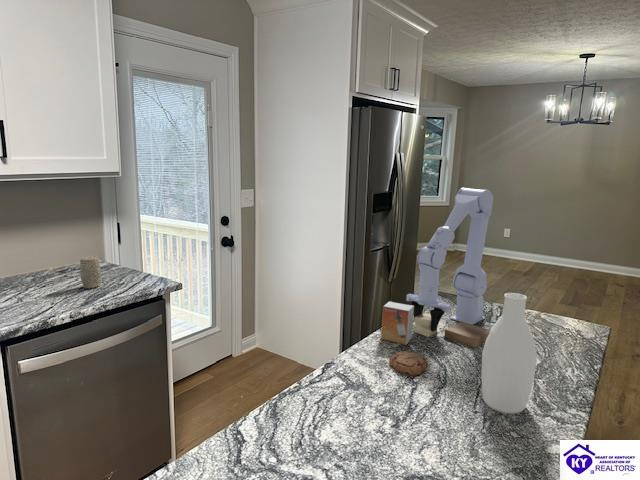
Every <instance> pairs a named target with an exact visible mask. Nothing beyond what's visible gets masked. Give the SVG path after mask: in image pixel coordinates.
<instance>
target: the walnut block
mask: <svg viewBox="0 0 640 480" xmlns="http://www.w3.org/2000/svg"><path fill="white" fill-rule="evenodd" d="M490 331H491V329H487V328H485V327H481V326H478V325H475V324H473V325H472V324H468V323H465V322H460V321H458V322H457V323H455V324H453V325H452V326H449V327H447V328H445V329H444V338H445V339H447V340H451V341H452V342H453V341H454V342H457V343H460V344H462V345H466V346H469V347H472V348H474V349H475V348H477V347H479V346H481V345H482V344H485V341H486V339H487V337H488V335H489V333H490Z"/></svg>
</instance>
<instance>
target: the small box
mask: <svg viewBox="0 0 640 480" xmlns="http://www.w3.org/2000/svg"><path fill="white" fill-rule="evenodd" d="M413 314H414V306H413V305H410V304H406V303H405V304H404V303H399V302H393V301H388V302H387V303H386V304H384V305H383V306H382V316H381V317H382V320H381V332H380V333H381V334H380V335H381V336H380V339H381V340H385V341H389V342H393V343H398V344H401V345H405V346H406V345H407V344H408V343H409V342H410V341H411V339H412V338H413V327H414V326H413V325H414V315H413Z"/></svg>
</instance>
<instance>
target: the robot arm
mask: <svg viewBox="0 0 640 480" xmlns="http://www.w3.org/2000/svg"><path fill="white" fill-rule="evenodd" d="M494 199H495V198H494V196H493V193H492V192H491V191H490V190H489V189H479V188H478V189H477V188H470V187H461V188H459V190H458V192H457V194H456V195H455V196H454V206H453V208H452V210H451V212H450V214H449V216H448V218H447V220H446V222H445V223H444V225H443V226H439V227H438V228H437V229H436V231H435V233H434V234H433V235H432V237H431V239H430V240H429V241H428V243H427V245H426V246H423V247H421V248H420V249H419V251H418V253H417V255H416V261H417V263H418V269H419V271H420V272H419V284H418V294H413V293H408V294H406V299H405V301H406V302H411V303H409V305H413V306H414V314H413V320H415V317H416V316H419V315H421V314H423V312H424V308H425V306H426V307H429V308H433V309H431V310H429V315H431V331H432V332H434V331H436V330H437V331H438V326H439V323H440V321H441V319H442V317H443V316H444V314H445V313H447V314H448V313H450V311H451V306H452V305H451V304H448V303H446V302H444V301H442V300H439V299H438V297H439V283H440V282H439V281H440V271H441V267H442V266H443V265H444V264H445V261H446V257H447V250H448V249H449V247H450V246H451V245H452V243H453V241H454V240H455V238H456V237H455V231H456V229H457V228H458V227H459V226H460V224H461V223H462V222H463V220H464V219H465V217H467V215H469V216H470V219H471V220H470V225H469V230H468V237H467V245H466V249H465V255H464V260H463V261H464V262H463V264H462V265H461V266H458V267H457V268H456V271H455V274H454V275H453V278H452V287H453V288H454V290H455V293H456V294H457V296H456V307H455V315H451V316H450V317H449V318H450V319H451V320H453V321H456V322H465V323H468V324H472V325H475V324H477V323H479V322H481V321H483V320H485V319H486V317H485V316H483V315H484V303H485V299H484V296H483V295H484V294H486V290H487V288H488V283H487V276H488V274H487V272H485V270H484V269H483V268H482V266H481V265H482V259H483V254H484V248H485V242H486V237H487V231H488V225H489V218H490V216H492V210H493V203H494Z"/></svg>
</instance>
